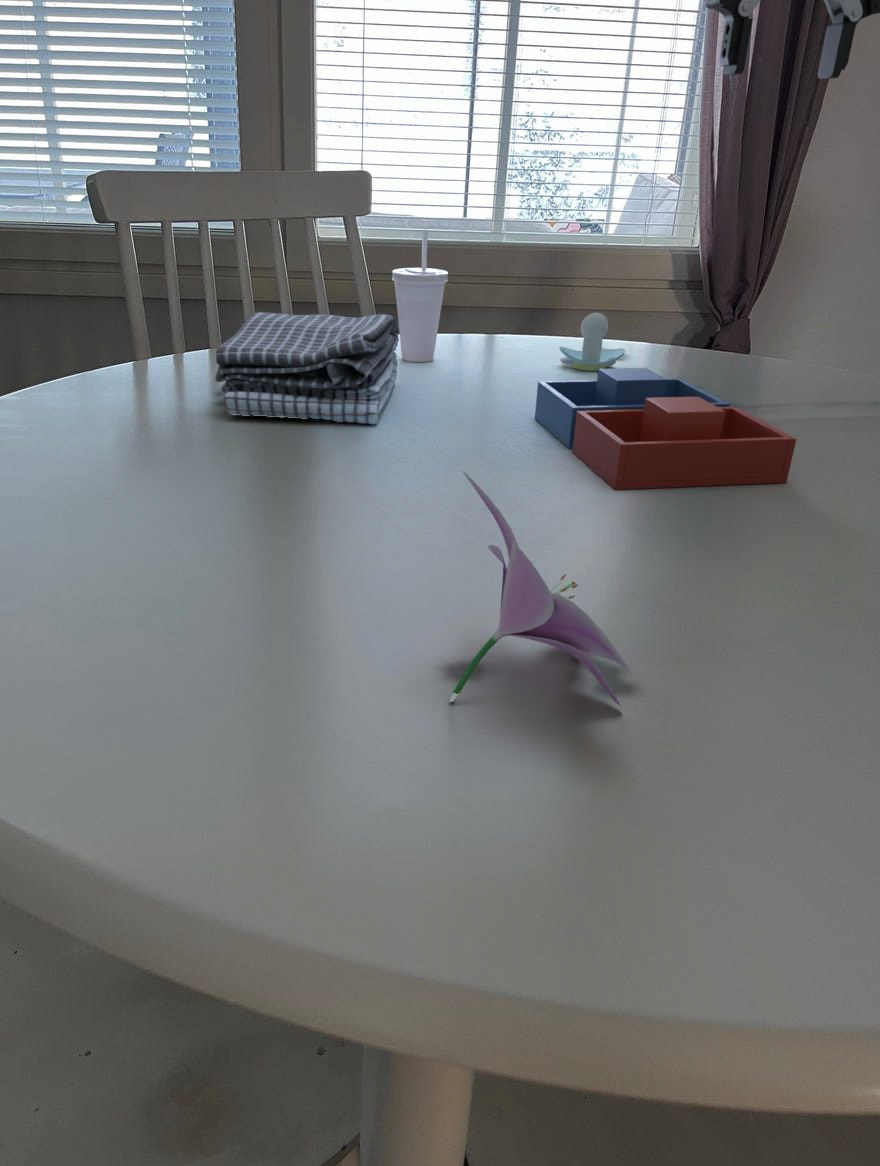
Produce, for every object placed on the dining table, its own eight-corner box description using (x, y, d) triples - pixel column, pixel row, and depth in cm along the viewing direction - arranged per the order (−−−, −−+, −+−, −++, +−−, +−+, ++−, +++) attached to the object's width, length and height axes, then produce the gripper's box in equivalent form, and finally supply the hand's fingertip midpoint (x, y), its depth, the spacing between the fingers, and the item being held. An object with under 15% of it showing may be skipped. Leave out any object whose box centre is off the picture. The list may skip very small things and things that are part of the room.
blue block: (638, 417, 87) (646, 367, 85) (659, 431, 83) (667, 379, 81) (592, 419, 86) (598, 368, 84) (610, 433, 82) (617, 380, 80)
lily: (601, 818, 38) (725, 612, 36) (345, 682, 38) (456, 470, 36) (576, 736, 50) (669, 577, 48) (381, 633, 50) (465, 470, 48)
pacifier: (553, 362, 111) (560, 371, 105) (559, 306, 108) (565, 313, 103) (615, 363, 111) (625, 373, 105) (622, 308, 108) (632, 315, 103)
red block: (689, 451, 78) (698, 396, 76) (714, 468, 74) (725, 411, 72) (637, 453, 77) (645, 397, 75) (660, 470, 73) (669, 412, 71)
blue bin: (675, 414, 90) (681, 378, 89) (722, 443, 82) (730, 403, 80) (534, 418, 88) (537, 381, 86) (568, 448, 80) (572, 407, 78)
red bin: (727, 446, 81) (735, 406, 80) (786, 482, 73) (796, 438, 71) (571, 452, 79) (576, 410, 77) (614, 490, 71) (620, 444, 69)
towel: (401, 382, 100) (402, 305, 96) (376, 429, 84) (377, 338, 80) (261, 375, 101) (258, 299, 97) (211, 420, 85) (204, 330, 81)
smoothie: (419, 367, 106) (424, 233, 99) (379, 358, 110) (380, 228, 103) (455, 359, 110) (462, 230, 104) (415, 350, 114) (418, 225, 107)
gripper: (766, -204, 64) (722, 71, 72) (949, -188, 67) (887, 77, 75) (715, -174, 71) (680, 76, 79) (883, -160, 73) (833, 81, 81)
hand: (781, 76), depth 77 cm, fingers open, 8 cm apart
